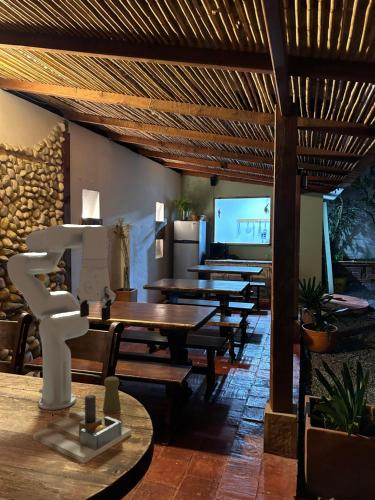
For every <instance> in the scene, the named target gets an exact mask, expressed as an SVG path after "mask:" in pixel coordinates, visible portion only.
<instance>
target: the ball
mask: <svg viewBox="0 0 375 500" xmlns="http://www.w3.org/2000/svg"><path fill="white" fill-rule="evenodd" d="M105 428H107V427H106V426H105V425H99V426H98V427H97V428H96V429H95V431H94V433H95V434H96V433H98V432H99V431H101V430H103V429H105Z"/></svg>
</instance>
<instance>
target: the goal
mask: <svg viewBox="0 0 375 500" xmlns="http://www.w3.org/2000/svg"><path fill="white" fill-rule="evenodd" d="M103 418H104V425H105V426H106V427H107V428H105V429H103V430H101V431H99V432H98V433H96V434H95V433H93V432H90V431H88V430H86V429H81V430H80V436H81V445H84V446H86V447H88V448H90V449H93V450H95V451H96V450H98V449H99V448H101V447H103V446H104V445H106V444H108V443H109V442H111V441H113V440H114V439H116V438H118V437H119V436H121V435H122V421H121V420H118V419H116V418H113V417H110V416H105V417H103Z"/></svg>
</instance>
